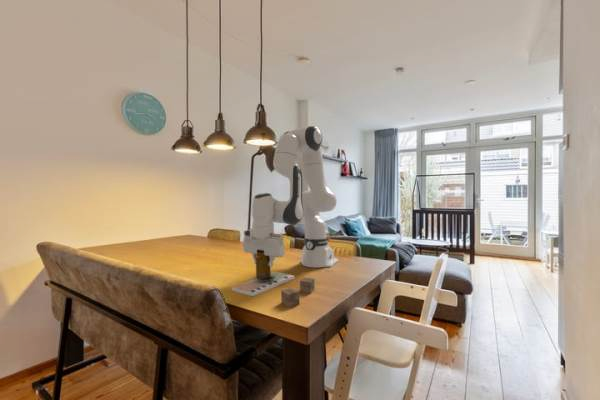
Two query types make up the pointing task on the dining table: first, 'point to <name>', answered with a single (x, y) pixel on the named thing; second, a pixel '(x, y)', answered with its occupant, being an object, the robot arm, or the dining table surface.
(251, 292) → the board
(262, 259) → the condiment
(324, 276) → the dining table surface
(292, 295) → the walnut block
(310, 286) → the walnut block
